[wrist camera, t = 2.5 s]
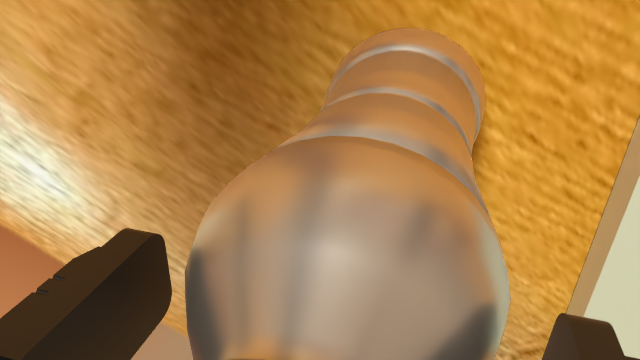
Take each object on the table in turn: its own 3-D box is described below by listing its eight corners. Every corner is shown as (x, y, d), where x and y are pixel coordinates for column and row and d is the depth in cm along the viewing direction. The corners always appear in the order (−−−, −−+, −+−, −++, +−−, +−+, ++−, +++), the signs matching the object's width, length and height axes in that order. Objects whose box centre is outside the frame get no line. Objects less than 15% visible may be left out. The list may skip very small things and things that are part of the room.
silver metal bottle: (495, 133, 22) (635, 827, 5) (362, 163, 24) (143, 690, 7) (464, -4, 20) (520, 395, 3) (320, 45, 22) (-138, 412, 5)
